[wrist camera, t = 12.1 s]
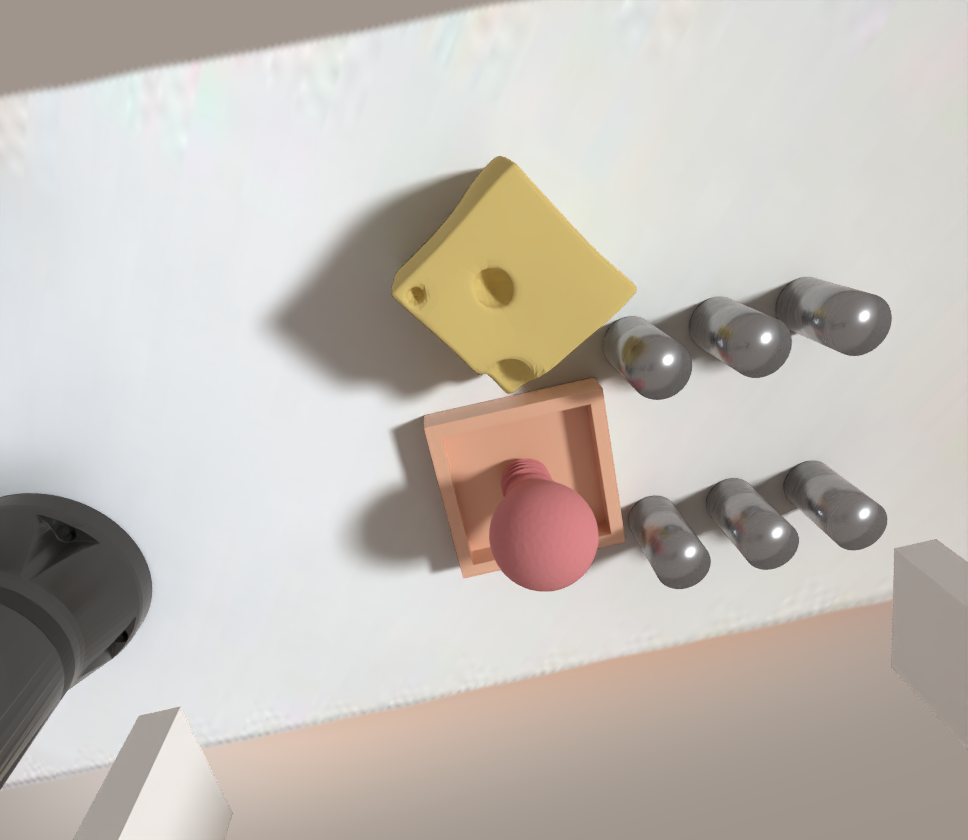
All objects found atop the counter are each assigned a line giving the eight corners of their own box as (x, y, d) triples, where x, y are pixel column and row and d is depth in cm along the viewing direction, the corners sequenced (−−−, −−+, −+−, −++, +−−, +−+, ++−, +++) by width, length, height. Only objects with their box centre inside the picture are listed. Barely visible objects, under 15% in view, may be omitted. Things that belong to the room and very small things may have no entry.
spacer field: (631, 543, 54) (659, 594, 48) (599, 322, 48) (626, 347, 41) (832, 498, 54) (886, 543, 48) (828, 271, 47) (892, 287, 41)
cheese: (497, 370, 48) (514, 417, 39) (388, 266, 45) (377, 291, 36) (602, 267, 46) (646, 291, 37) (495, 150, 43) (513, 145, 34)
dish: (461, 559, 54) (463, 578, 51) (424, 415, 49) (423, 428, 47) (616, 525, 54) (625, 542, 51) (593, 377, 49) (602, 388, 47)
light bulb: (580, 503, 52) (619, 599, 41) (493, 525, 52) (508, 626, 41) (562, 424, 49) (599, 503, 38) (471, 447, 49) (481, 532, 38)
